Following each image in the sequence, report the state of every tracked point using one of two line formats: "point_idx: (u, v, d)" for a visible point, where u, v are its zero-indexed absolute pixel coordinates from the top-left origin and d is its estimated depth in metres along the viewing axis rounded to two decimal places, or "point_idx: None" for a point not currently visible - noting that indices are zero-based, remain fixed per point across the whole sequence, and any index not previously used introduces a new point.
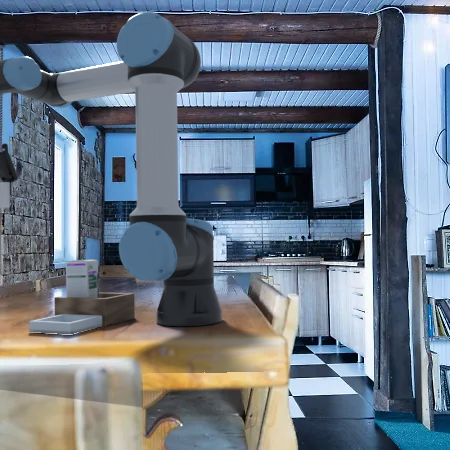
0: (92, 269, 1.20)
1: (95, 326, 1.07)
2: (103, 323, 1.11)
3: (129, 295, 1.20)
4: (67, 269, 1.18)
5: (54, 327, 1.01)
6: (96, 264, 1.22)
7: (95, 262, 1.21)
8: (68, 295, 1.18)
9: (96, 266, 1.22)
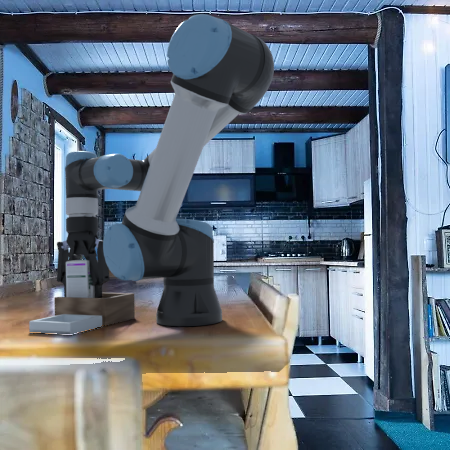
0: None
1: (95, 326, 1.07)
2: (103, 323, 1.11)
3: (129, 295, 1.20)
4: (67, 269, 1.18)
5: (54, 327, 1.01)
6: None
7: None
8: (68, 295, 1.18)
9: None
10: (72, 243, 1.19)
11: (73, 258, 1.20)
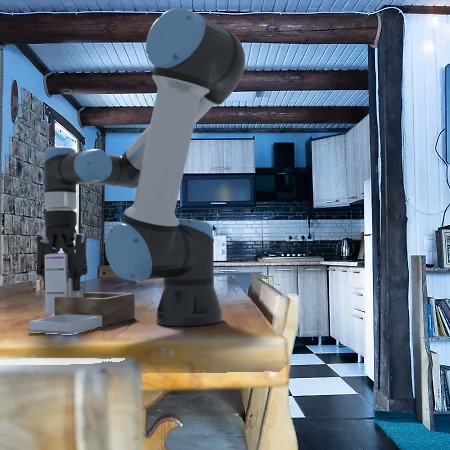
0: None
1: (95, 326, 1.07)
2: (103, 323, 1.11)
3: (129, 295, 1.20)
4: (45, 262, 1.20)
5: (54, 327, 1.01)
6: None
7: None
8: (47, 287, 1.20)
9: None
10: (51, 237, 1.22)
11: (52, 251, 1.23)
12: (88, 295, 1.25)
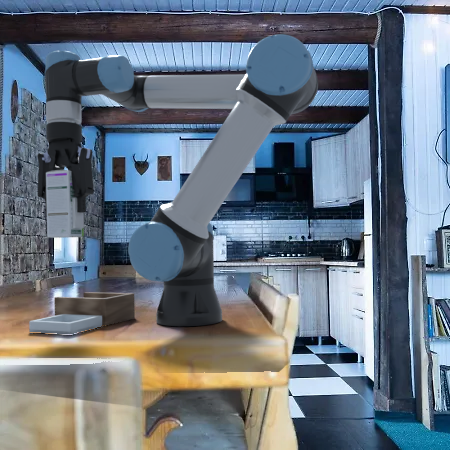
0: None
1: (95, 326, 1.07)
2: (103, 323, 1.11)
3: (129, 295, 1.20)
4: (47, 180, 1.07)
5: (54, 327, 1.01)
6: None
7: None
8: (48, 208, 1.07)
9: None
10: (53, 152, 1.09)
11: (54, 170, 1.09)
12: (88, 295, 1.25)
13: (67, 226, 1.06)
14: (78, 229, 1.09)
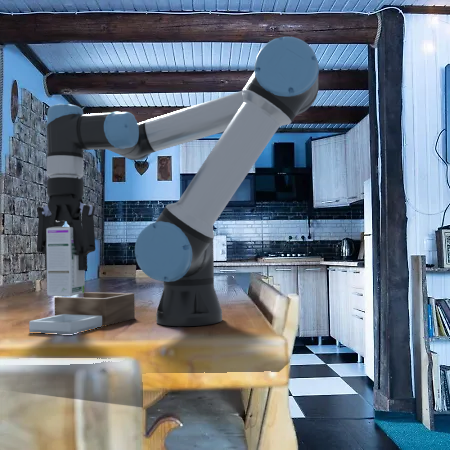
0: None
1: (95, 326, 1.07)
2: (103, 323, 1.11)
3: (129, 295, 1.20)
4: (47, 236, 1.05)
5: (54, 327, 1.01)
6: None
7: None
8: (48, 266, 1.04)
9: None
10: (54, 208, 1.06)
11: (55, 225, 1.07)
12: (88, 295, 1.25)
13: (68, 284, 1.03)
14: (79, 286, 1.06)
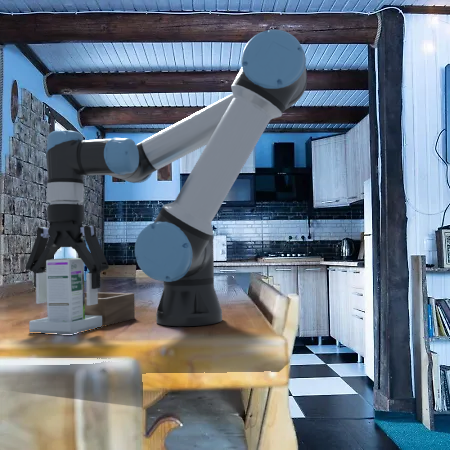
0: (76, 269, 1.06)
1: (95, 326, 1.07)
2: (103, 323, 1.11)
3: (129, 295, 1.20)
4: (47, 268, 1.05)
5: (54, 327, 1.01)
6: (81, 263, 1.08)
7: (80, 261, 1.08)
8: (49, 298, 1.04)
9: (81, 265, 1.08)
10: (54, 234, 1.06)
11: (51, 249, 1.07)
12: None
13: (68, 317, 1.03)
14: (79, 318, 1.06)
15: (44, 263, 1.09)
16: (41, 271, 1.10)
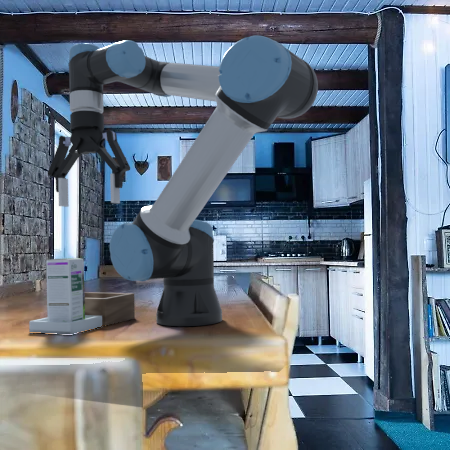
0: (76, 269, 1.06)
1: (95, 326, 1.07)
2: (103, 323, 1.11)
3: (129, 295, 1.20)
4: (47, 268, 1.05)
5: (54, 327, 1.01)
6: (81, 263, 1.08)
7: (80, 261, 1.08)
8: (49, 298, 1.04)
9: (81, 265, 1.08)
10: (77, 140, 1.14)
11: (73, 155, 1.15)
12: (88, 295, 1.25)
13: (68, 317, 1.03)
14: (79, 318, 1.06)
15: (66, 169, 1.16)
16: (62, 177, 1.17)
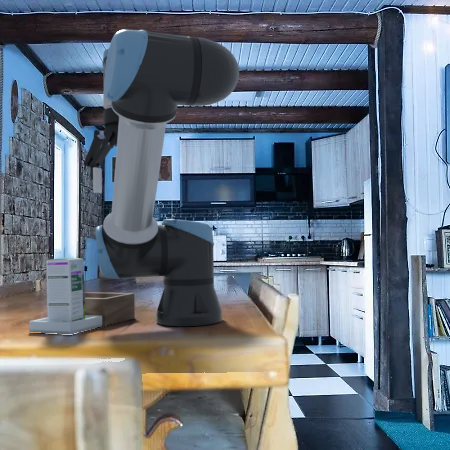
0: (76, 269, 1.06)
1: (95, 326, 1.07)
2: (103, 323, 1.11)
3: (129, 295, 1.20)
4: (47, 268, 1.05)
5: (54, 327, 1.01)
6: (81, 263, 1.08)
7: (80, 261, 1.08)
8: (49, 298, 1.04)
9: (81, 265, 1.08)
10: (109, 133, 1.28)
11: (106, 147, 1.29)
12: (88, 295, 1.25)
13: (68, 317, 1.03)
14: (79, 318, 1.06)
15: (99, 159, 1.31)
16: (96, 167, 1.32)
